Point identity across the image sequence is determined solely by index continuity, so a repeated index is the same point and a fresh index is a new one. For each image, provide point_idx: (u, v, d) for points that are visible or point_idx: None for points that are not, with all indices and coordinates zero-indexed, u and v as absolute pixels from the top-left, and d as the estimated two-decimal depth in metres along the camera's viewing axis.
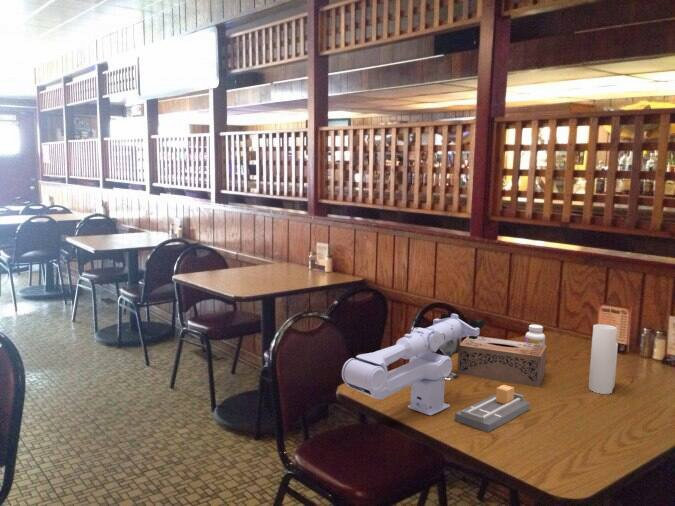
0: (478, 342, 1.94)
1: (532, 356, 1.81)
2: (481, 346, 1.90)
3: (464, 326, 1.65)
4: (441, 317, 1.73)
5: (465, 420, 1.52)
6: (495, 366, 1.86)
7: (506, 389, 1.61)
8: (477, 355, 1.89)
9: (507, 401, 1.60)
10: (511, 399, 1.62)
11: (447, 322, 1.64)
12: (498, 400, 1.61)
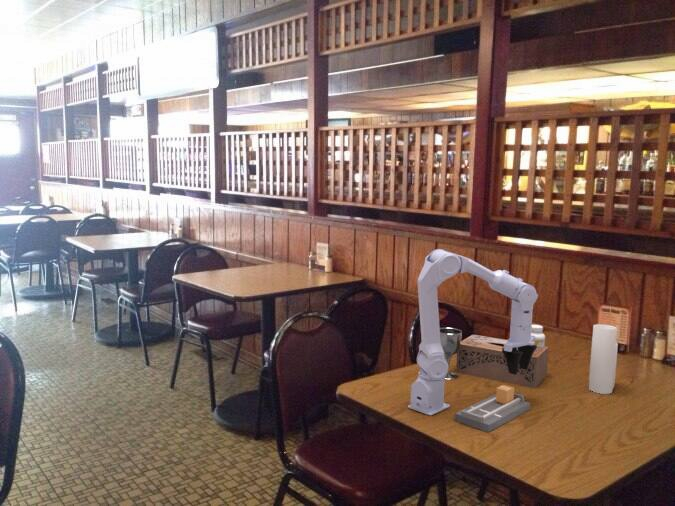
0: (479, 341, 1.95)
1: None
2: (480, 345, 1.91)
3: (517, 344, 1.62)
4: (533, 344, 1.68)
5: (465, 420, 1.52)
6: (493, 366, 1.87)
7: (506, 389, 1.61)
8: (475, 354, 1.90)
9: (507, 401, 1.60)
10: (511, 399, 1.62)
11: (529, 327, 1.62)
12: (498, 400, 1.61)
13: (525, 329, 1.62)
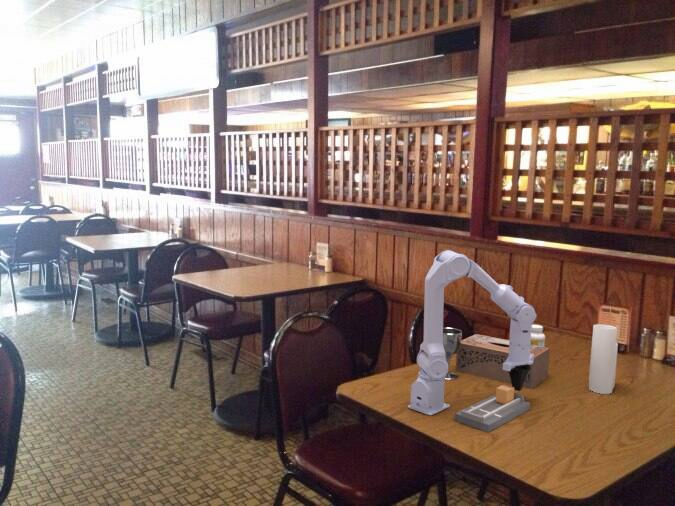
0: (479, 341, 1.96)
1: None
2: (479, 345, 1.91)
3: (516, 363, 1.63)
4: (527, 365, 1.67)
5: (465, 420, 1.52)
6: (491, 365, 1.87)
7: (506, 389, 1.61)
8: (474, 353, 1.91)
9: (507, 401, 1.60)
10: (511, 399, 1.62)
11: (527, 346, 1.63)
12: (498, 400, 1.61)
13: (524, 348, 1.63)
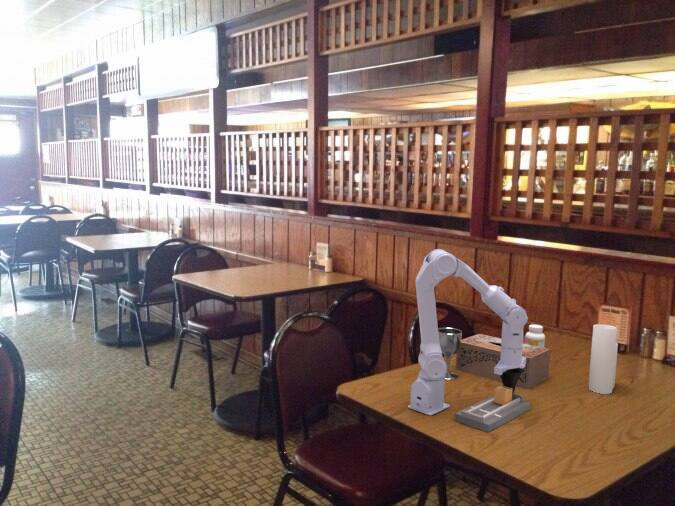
0: (480, 340, 1.97)
1: None
2: (479, 344, 1.92)
3: (508, 366, 1.60)
4: (519, 368, 1.63)
5: (465, 420, 1.52)
6: (489, 365, 1.88)
7: (504, 390, 1.60)
8: (473, 352, 1.91)
9: (505, 402, 1.59)
10: (509, 400, 1.61)
11: (519, 350, 1.60)
12: (496, 401, 1.61)
13: (516, 352, 1.59)
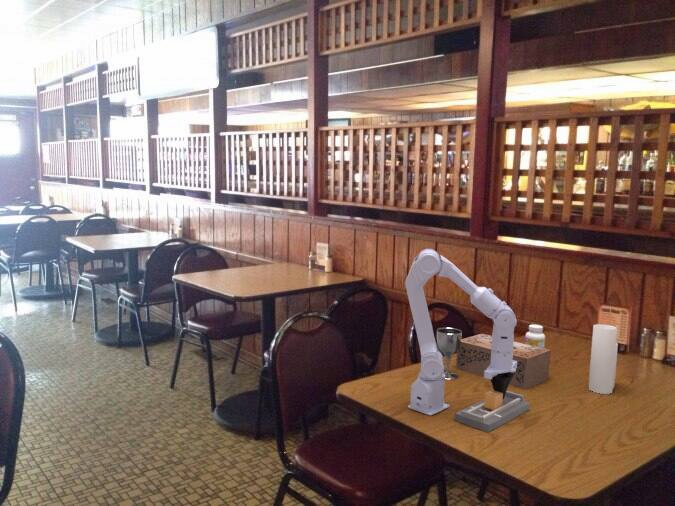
0: (481, 340, 1.97)
1: (519, 357, 1.79)
2: (478, 343, 1.93)
3: (498, 371, 1.56)
4: (509, 372, 1.60)
5: (465, 420, 1.52)
6: (488, 364, 1.88)
7: (494, 395, 1.56)
8: (472, 352, 1.92)
9: (495, 407, 1.56)
10: (500, 405, 1.57)
11: (510, 353, 1.56)
12: (486, 406, 1.57)
13: (506, 355, 1.56)
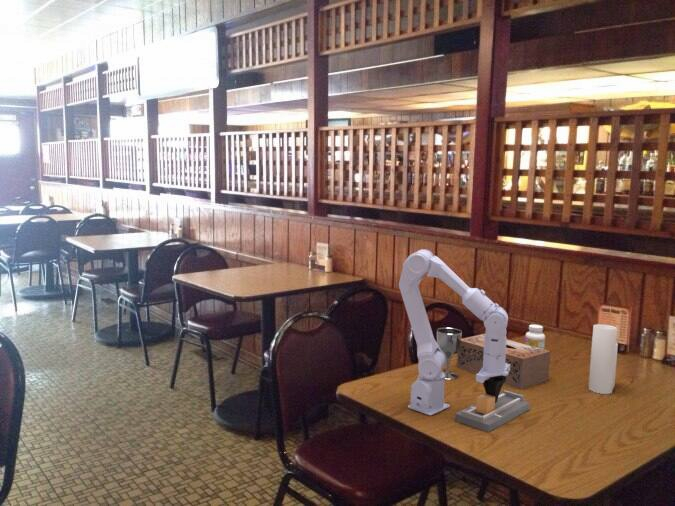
0: (482, 340, 1.97)
1: (515, 357, 1.79)
2: (478, 343, 1.93)
3: (490, 374, 1.53)
4: (502, 376, 1.57)
5: (465, 420, 1.52)
6: None
7: (486, 398, 1.53)
8: (472, 351, 1.93)
9: (487, 411, 1.53)
10: (492, 409, 1.54)
11: (502, 356, 1.53)
12: (478, 410, 1.54)
13: (498, 358, 1.53)
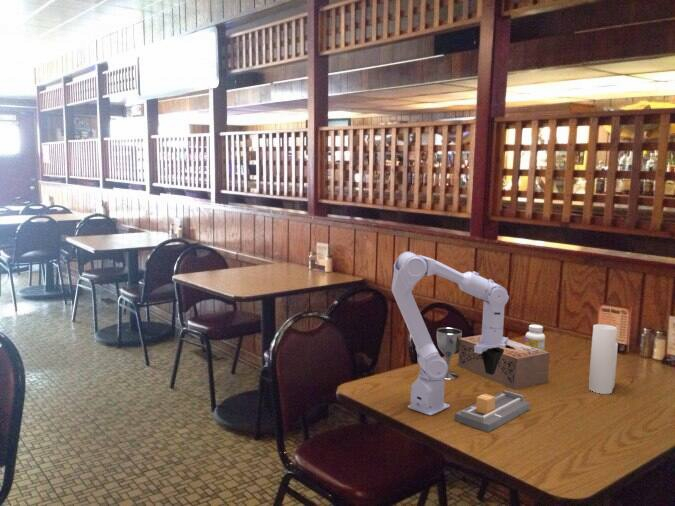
0: None
1: (510, 357, 1.79)
2: (478, 342, 1.94)
3: (488, 346, 1.60)
4: (500, 348, 1.64)
5: (465, 420, 1.52)
6: None
7: (486, 398, 1.53)
8: (472, 350, 1.94)
9: (487, 411, 1.53)
10: (492, 409, 1.54)
11: (500, 329, 1.60)
12: (478, 410, 1.54)
13: (496, 331, 1.60)
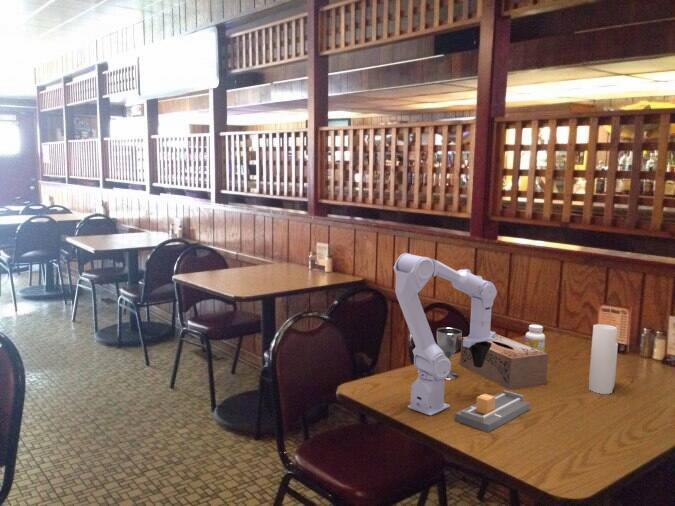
0: None
1: (506, 357, 1.80)
2: None
3: None
4: (488, 342, 1.70)
5: (465, 420, 1.52)
6: None
7: (486, 398, 1.53)
8: None
9: (487, 411, 1.53)
10: (492, 409, 1.54)
11: (487, 323, 1.66)
12: (478, 410, 1.54)
13: (484, 325, 1.66)
